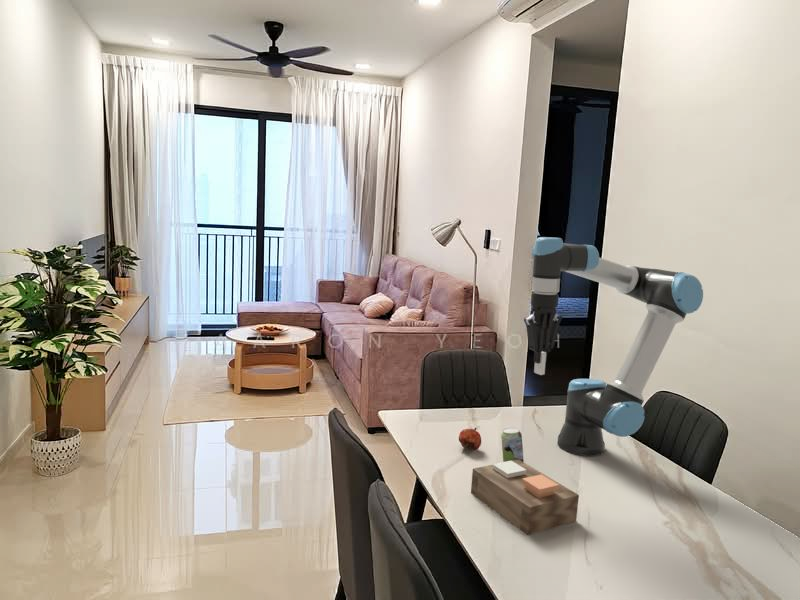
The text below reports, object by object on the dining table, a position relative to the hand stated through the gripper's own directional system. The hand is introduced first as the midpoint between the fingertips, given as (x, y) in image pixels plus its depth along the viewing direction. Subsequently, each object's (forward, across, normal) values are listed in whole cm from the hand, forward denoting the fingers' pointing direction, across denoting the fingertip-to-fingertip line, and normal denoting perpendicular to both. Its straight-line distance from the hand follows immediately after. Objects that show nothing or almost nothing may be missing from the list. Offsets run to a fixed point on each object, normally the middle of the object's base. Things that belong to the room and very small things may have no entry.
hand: (539, 373), depth 173 cm
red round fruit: (+31, +6, -22) cm, 38 cm away
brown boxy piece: (+30, +17, +14) cm, 37 cm away
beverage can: (+31, +3, -6) cm, 31 cm away
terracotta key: (+29, +17, +20) cm, 39 cm away
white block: (+30, +17, +8) cm, 35 cm away
